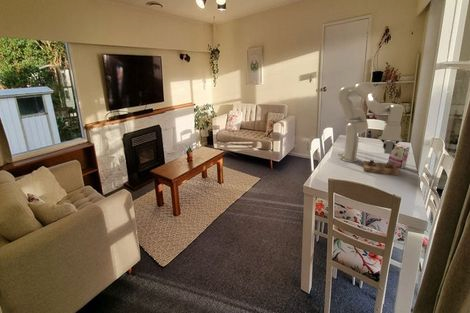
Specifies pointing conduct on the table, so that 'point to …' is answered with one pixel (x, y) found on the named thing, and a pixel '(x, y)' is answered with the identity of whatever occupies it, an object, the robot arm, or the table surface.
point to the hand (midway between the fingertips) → (388, 148)
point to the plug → (388, 147)
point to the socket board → (380, 167)
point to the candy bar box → (399, 156)
